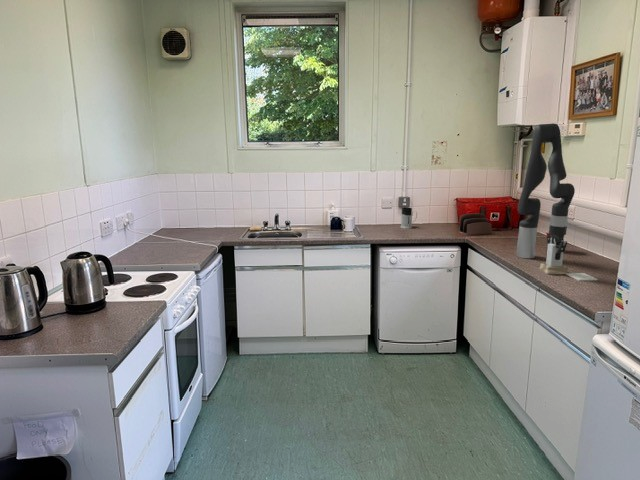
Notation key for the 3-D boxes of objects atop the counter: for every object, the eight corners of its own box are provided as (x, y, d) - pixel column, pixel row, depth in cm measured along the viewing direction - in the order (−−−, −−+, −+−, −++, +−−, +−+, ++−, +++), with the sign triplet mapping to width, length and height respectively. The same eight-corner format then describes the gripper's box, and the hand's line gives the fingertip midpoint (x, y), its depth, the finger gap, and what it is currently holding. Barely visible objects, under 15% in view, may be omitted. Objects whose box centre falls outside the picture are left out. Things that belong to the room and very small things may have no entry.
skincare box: (556, 266, 222) (559, 242, 219) (562, 268, 217) (564, 244, 215) (544, 266, 221) (547, 243, 218) (550, 269, 217) (553, 245, 214)
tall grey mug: (405, 225, 348) (406, 207, 345) (419, 228, 338) (420, 208, 335) (398, 227, 343) (398, 208, 340) (412, 229, 332) (413, 210, 329)
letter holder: (458, 233, 320) (460, 213, 317) (482, 231, 325) (484, 212, 322) (466, 235, 310) (468, 215, 307) (491, 234, 315) (492, 214, 312)
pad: (565, 274, 214) (566, 273, 214) (583, 274, 215) (583, 273, 215) (578, 280, 205) (578, 279, 205) (597, 280, 205) (597, 279, 205)
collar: (539, 270, 223) (540, 263, 222) (558, 269, 223) (558, 263, 222) (547, 274, 215) (548, 267, 215) (567, 273, 216) (567, 267, 215)
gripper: (542, 222, 221) (539, 255, 225) (559, 227, 207) (555, 262, 211) (557, 221, 221) (553, 254, 225) (574, 227, 208) (570, 262, 211)
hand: (554, 258), depth 218 cm, fingers closed on skincare box, 4 cm apart
